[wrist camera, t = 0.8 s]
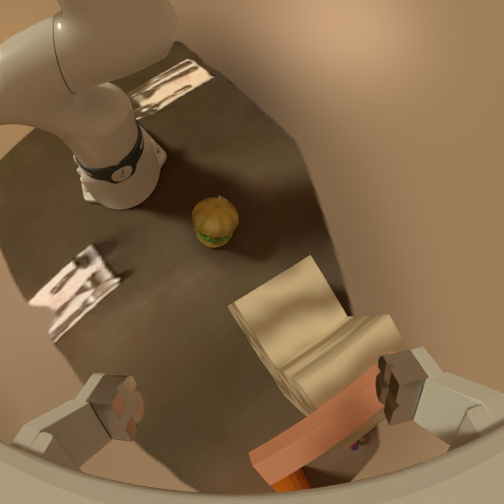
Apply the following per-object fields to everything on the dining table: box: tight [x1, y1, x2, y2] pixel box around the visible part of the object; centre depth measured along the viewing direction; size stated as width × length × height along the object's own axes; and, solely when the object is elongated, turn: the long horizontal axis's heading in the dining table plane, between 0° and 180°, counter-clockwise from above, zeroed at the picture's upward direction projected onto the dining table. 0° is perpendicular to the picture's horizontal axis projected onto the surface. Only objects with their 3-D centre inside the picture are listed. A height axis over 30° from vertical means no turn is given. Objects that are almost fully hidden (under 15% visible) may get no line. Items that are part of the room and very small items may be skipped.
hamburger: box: [192, 195, 239, 248], centre depth 50 cm, size 8×7×12 cm
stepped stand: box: [227, 255, 407, 450], centre depth 41 cm, size 20×12×26 cm, turn 32°
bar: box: [249, 351, 395, 485], centre depth 25 cm, size 3×18×3 cm, turn 122°
